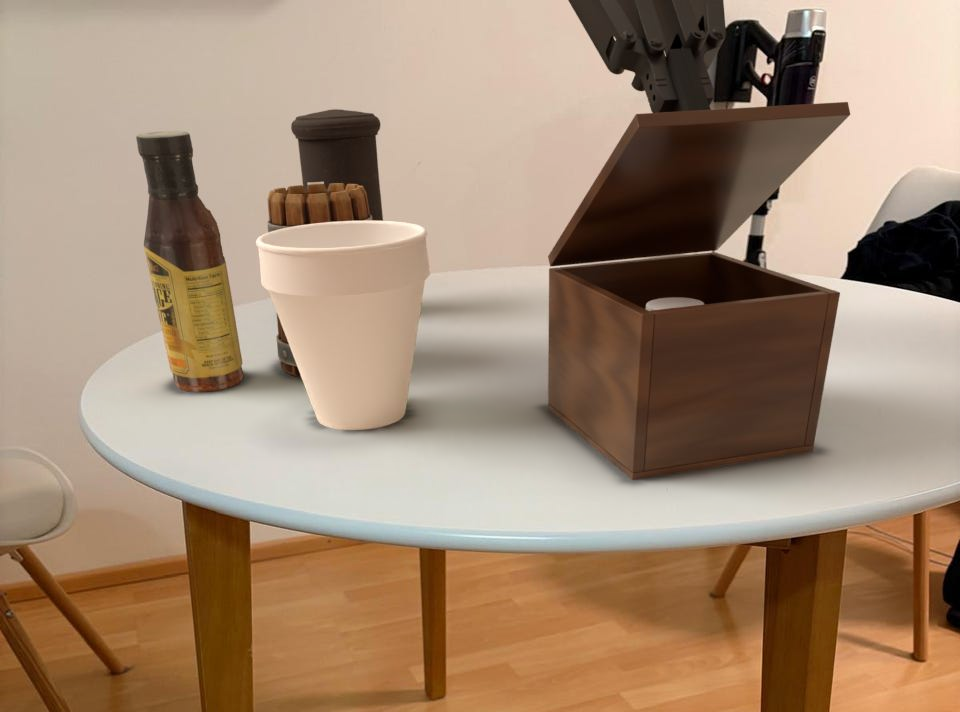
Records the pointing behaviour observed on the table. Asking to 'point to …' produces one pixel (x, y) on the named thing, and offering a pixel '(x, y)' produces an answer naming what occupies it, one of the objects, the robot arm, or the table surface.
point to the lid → (691, 179)
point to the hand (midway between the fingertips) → (699, 153)
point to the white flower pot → (349, 313)
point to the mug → (311, 209)
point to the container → (340, 151)
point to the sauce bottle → (188, 269)
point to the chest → (688, 361)
